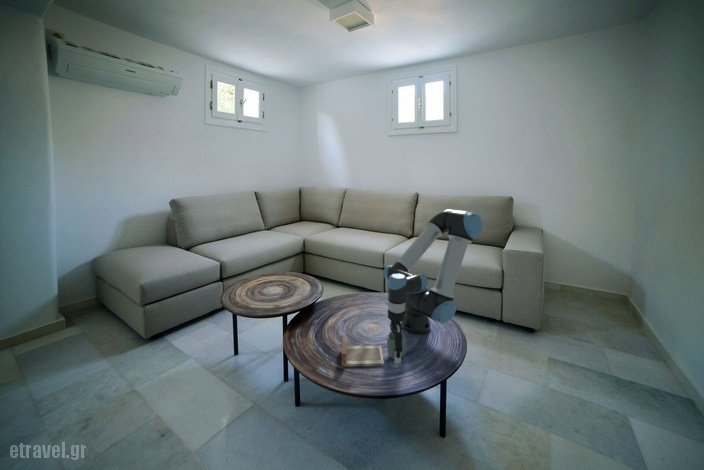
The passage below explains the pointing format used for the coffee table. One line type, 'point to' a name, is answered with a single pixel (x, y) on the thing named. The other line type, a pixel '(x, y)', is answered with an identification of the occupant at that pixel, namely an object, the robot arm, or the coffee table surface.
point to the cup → (392, 345)
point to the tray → (361, 355)
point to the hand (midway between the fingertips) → (395, 353)
